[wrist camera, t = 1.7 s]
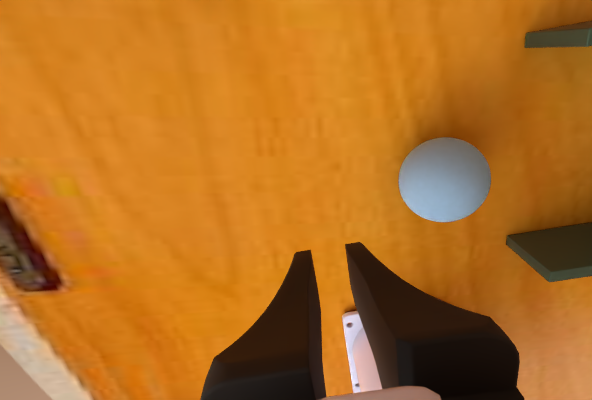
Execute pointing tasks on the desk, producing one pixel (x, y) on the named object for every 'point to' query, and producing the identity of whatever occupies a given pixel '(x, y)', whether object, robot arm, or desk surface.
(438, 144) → the ball
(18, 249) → the desk surface
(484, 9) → the desk surface
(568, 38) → the box
